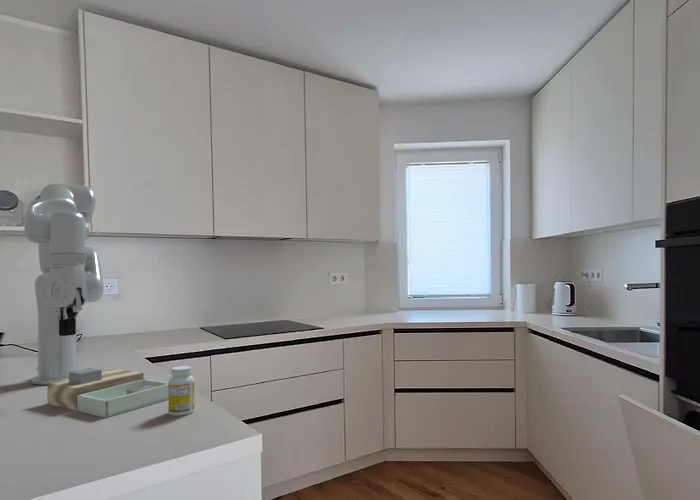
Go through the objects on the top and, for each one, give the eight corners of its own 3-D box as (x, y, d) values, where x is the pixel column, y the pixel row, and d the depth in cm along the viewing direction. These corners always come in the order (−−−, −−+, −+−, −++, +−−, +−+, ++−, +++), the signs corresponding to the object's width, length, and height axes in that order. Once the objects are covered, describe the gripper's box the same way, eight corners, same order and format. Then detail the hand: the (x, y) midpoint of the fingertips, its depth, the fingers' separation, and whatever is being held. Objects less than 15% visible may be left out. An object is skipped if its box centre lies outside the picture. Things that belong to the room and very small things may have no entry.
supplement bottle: (181, 417, 97) (181, 371, 97) (162, 414, 99) (162, 369, 100) (200, 410, 102) (199, 366, 102) (181, 407, 104) (181, 364, 104)
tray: (77, 411, 103) (77, 395, 103) (145, 392, 118) (144, 379, 118) (105, 417, 98) (105, 401, 98) (173, 397, 112) (173, 383, 113)
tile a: (139, 392, 107) (139, 402, 107) (158, 387, 111) (158, 397, 111) (126, 389, 109) (126, 400, 109) (145, 385, 114) (145, 395, 113)
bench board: (47, 404, 110) (47, 382, 110) (115, 387, 124) (115, 368, 125) (75, 410, 104) (75, 388, 104) (143, 392, 118) (143, 372, 118)
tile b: (68, 382, 110) (68, 372, 110) (89, 377, 114) (89, 368, 114) (80, 384, 107) (80, 374, 107) (101, 379, 112) (101, 369, 112)
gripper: (35, 262, 117) (35, 336, 116) (68, 259, 109) (68, 338, 108) (66, 262, 123) (66, 332, 122) (99, 260, 115) (99, 334, 114)
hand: (67, 335), depth 115 cm, fingers closed
